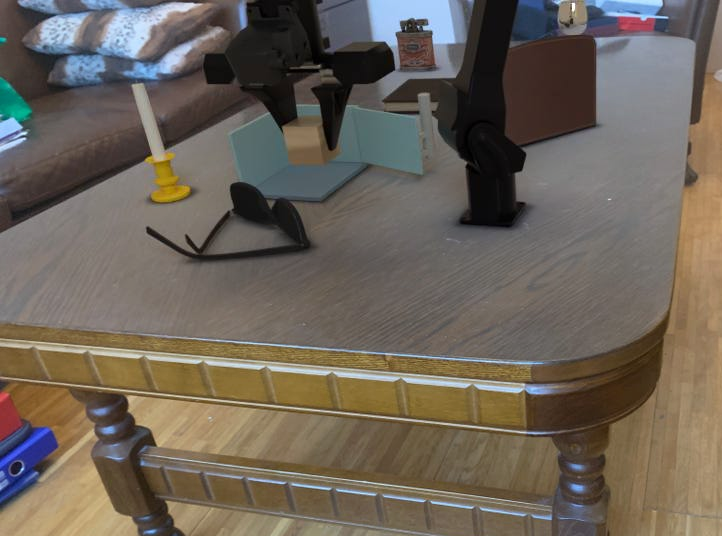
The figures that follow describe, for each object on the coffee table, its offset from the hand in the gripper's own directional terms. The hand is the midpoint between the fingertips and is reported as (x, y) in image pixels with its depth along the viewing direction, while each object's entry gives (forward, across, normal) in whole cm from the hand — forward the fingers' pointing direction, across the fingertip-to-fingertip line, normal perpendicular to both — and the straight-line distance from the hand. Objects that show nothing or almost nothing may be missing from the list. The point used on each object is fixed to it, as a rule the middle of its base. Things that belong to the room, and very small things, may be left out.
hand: (314, 149), depth 80 cm
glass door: (+11, -2, +26) cm, 28 cm away
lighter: (+12, -24, +87) cm, 91 cm away
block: (+1, 0, 0) cm, 1 cm away
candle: (+12, -32, +13) cm, 36 cm away
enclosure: (+12, -14, +20) cm, 28 cm away
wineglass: (+12, +9, +88) cm, 89 cm away
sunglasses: (+12, -13, -2) cm, 18 cm away
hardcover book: (+12, -7, +62) cm, 64 cm away
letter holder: (+12, +11, +44) cm, 47 cm away
